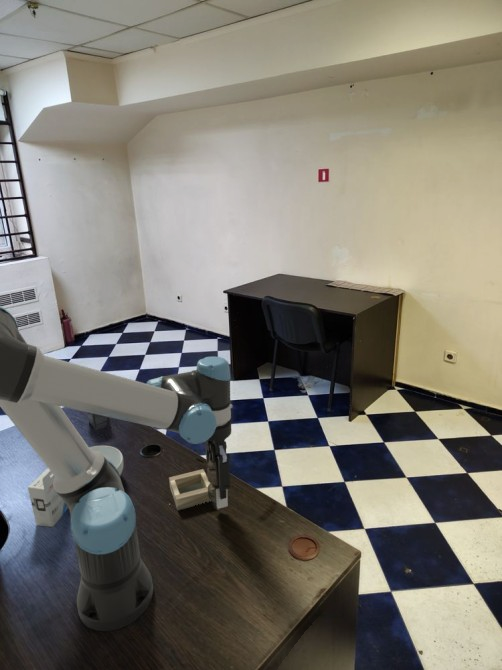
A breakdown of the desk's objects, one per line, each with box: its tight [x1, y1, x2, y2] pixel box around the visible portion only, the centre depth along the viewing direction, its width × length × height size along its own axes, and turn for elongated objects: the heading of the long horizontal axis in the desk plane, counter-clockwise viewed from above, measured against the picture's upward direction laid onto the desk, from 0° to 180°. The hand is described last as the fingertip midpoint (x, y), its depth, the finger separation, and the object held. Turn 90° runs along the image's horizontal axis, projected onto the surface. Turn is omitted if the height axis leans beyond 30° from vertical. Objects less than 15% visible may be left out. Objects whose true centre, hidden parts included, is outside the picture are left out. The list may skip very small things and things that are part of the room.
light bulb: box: [206, 460, 229, 511], centre depth 114 cm, size 6×6×15 cm
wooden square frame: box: [168, 468, 212, 511], centre depth 123 cm, size 10×10×4 cm
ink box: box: [27, 467, 69, 528], centre depth 115 cm, size 9×5×15 cm, turn 168°
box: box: [86, 412, 111, 431], centre depth 160 cm, size 8×6×11 cm
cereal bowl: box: [88, 445, 124, 476], centre depth 129 cm, size 17×17×7 cm
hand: (218, 499), depth 115 cm, fingers closed on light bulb, 5 cm apart
